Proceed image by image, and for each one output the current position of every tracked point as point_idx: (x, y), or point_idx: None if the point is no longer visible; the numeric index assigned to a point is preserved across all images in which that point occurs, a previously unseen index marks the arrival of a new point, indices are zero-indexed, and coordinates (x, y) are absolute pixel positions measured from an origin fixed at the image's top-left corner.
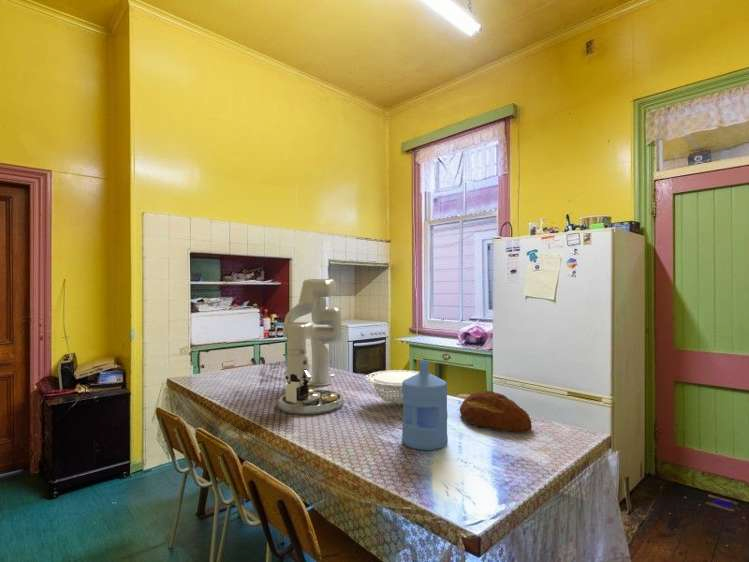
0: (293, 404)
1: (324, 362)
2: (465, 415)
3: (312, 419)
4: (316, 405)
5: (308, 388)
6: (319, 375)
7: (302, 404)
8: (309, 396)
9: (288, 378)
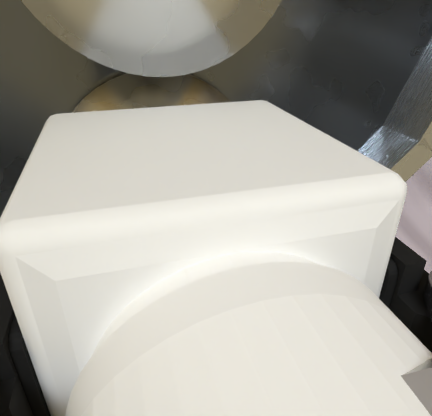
0: (30, 135)
1: None
2: None
3: (402, 218)
4: (415, 145)
5: (350, 151)
6: None
7: (124, 76)
8: (238, 46)
9: None
